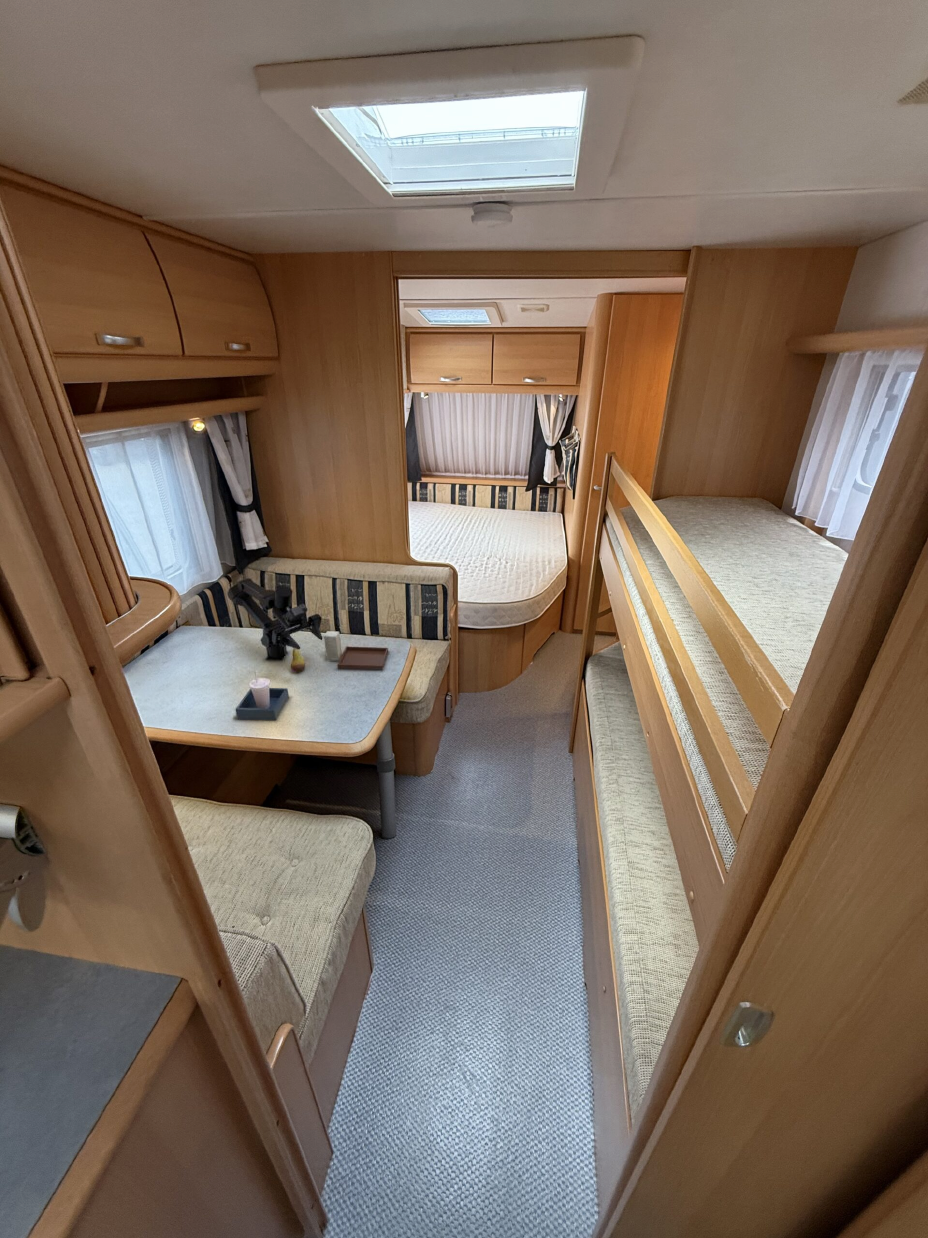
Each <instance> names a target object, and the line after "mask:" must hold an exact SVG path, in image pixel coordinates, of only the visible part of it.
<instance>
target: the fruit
mask: <svg viewBox="0 0 928 1238" xmlns="http://www.w3.org/2000/svg"><path fill="white" fill-rule="evenodd" d="M291 655H292V656H291V657H292V658H291V661H290V668H291V671H292V672H295V673H300V672H303V671H305V669H306V661H305V659H304V658H303V655H302V654H301V653H300V651H299V649H296V648H293V647H292V653H291Z"/></svg>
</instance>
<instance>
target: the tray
mask: <svg viewBox="0 0 928 1238" xmlns="http://www.w3.org/2000/svg"><path fill="white" fill-rule="evenodd" d="M388 655H389V647H377V646H374V647H373V646H345V648H344V650H343V651H342V656H341V658H340V660H339V661H337V662H338V663H337V670H353V671H384V667H385V664H386V661H387V658H388Z"/></svg>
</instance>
